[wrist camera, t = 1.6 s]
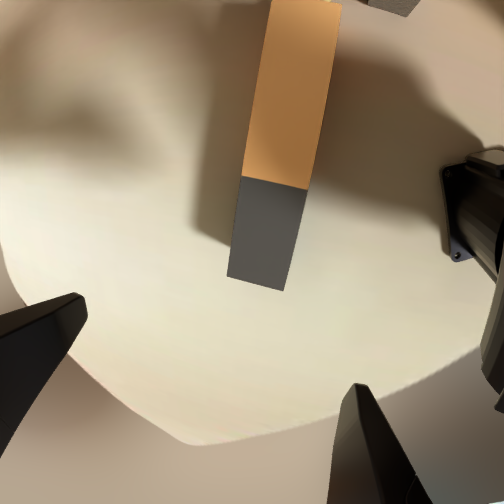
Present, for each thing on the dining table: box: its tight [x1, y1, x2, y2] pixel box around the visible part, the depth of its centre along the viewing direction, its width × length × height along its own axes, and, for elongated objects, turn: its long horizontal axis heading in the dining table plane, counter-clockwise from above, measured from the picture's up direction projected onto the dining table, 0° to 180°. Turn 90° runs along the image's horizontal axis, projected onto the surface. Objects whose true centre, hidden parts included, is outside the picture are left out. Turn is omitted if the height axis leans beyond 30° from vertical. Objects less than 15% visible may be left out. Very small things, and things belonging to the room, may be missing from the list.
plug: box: [227, 0, 342, 291], centre depth 15 cm, size 17×3×3 cm, turn 171°
